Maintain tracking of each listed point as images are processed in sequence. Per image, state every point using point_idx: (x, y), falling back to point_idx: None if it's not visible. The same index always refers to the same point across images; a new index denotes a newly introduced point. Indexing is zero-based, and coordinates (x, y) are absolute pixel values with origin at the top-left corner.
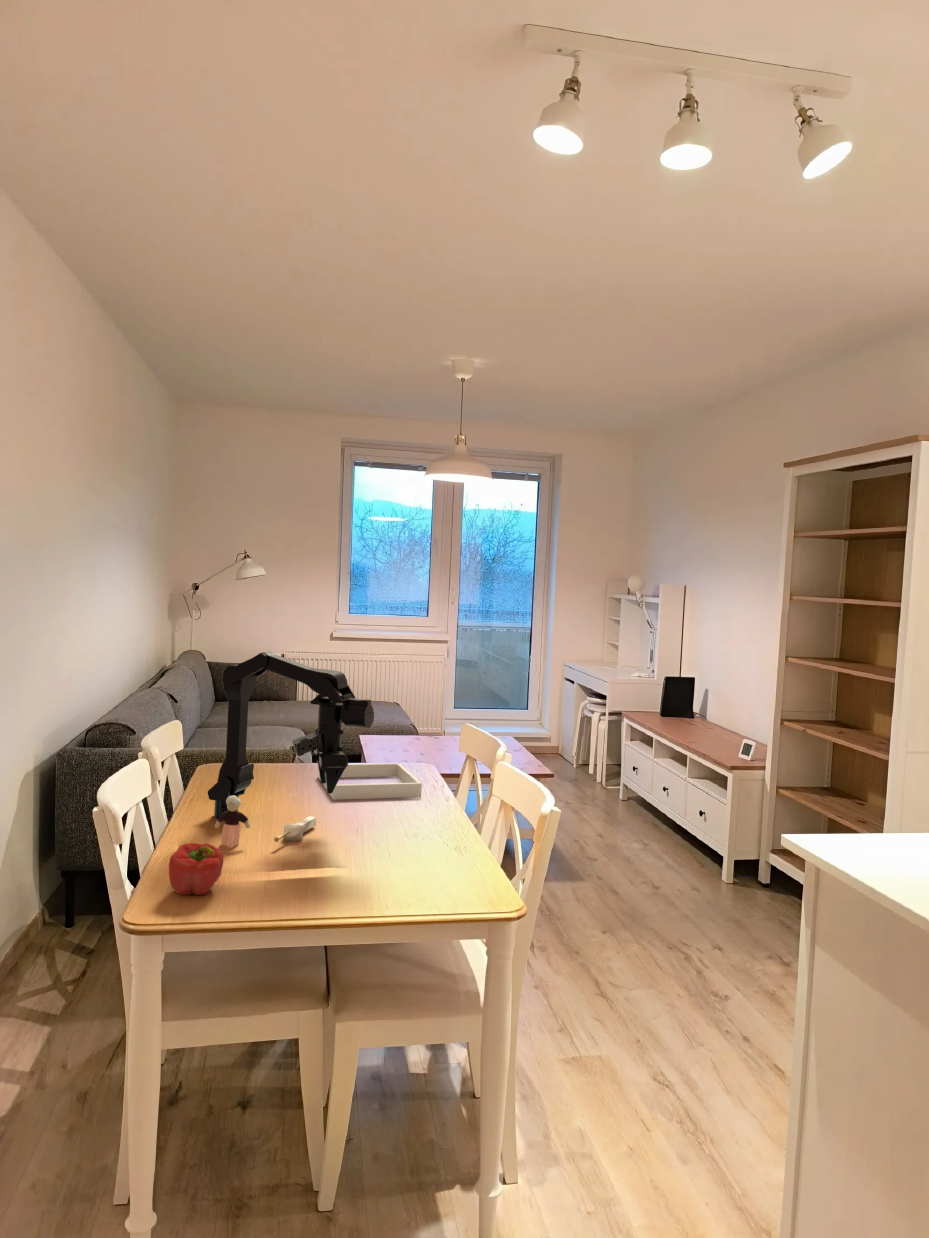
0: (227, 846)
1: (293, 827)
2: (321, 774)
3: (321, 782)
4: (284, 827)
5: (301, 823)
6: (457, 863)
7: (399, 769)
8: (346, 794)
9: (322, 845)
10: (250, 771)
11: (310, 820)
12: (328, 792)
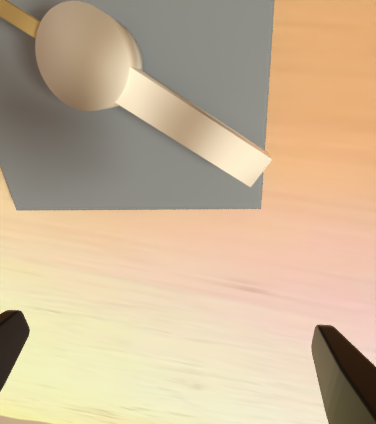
0: None
1: (68, 58)
2: (359, 413)
3: (318, 331)
4: (63, 3)
5: (156, 108)
6: (24, 390)
7: None
8: None
9: None
10: None
11: (201, 156)
12: (3, 317)
